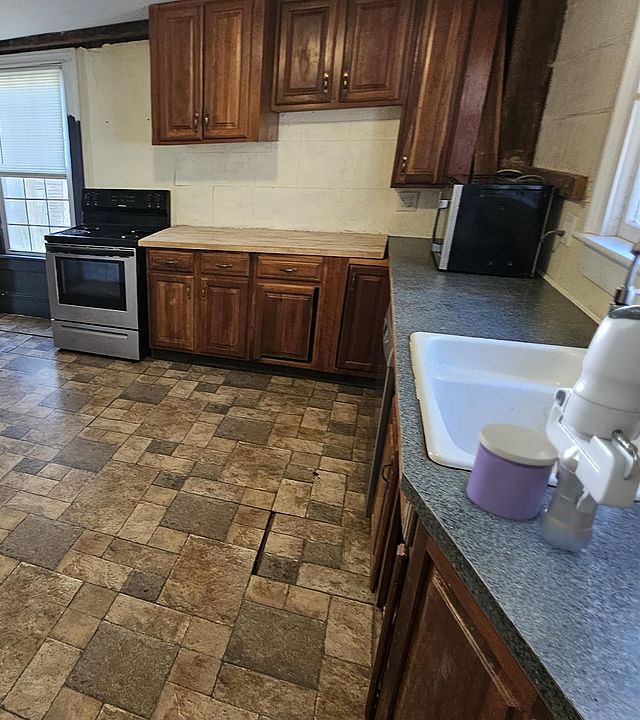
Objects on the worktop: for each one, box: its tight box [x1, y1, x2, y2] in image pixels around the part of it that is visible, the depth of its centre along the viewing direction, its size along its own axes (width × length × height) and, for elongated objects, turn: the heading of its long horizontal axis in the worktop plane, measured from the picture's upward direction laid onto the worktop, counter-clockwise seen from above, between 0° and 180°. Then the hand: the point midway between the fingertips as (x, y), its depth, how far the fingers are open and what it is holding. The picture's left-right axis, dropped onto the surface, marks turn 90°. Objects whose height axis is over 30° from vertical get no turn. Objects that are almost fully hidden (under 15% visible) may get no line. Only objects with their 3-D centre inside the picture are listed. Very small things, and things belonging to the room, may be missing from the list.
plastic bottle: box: [538, 439, 600, 552], centre depth 80 cm, size 6×7×20 cm
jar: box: [465, 423, 559, 521], centre depth 92 cm, size 12×12×12 cm
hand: (571, 494), depth 81 cm, fingers open, 6 cm apart
